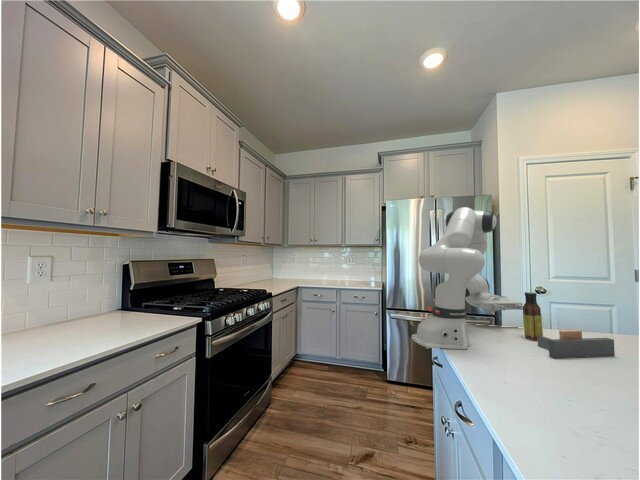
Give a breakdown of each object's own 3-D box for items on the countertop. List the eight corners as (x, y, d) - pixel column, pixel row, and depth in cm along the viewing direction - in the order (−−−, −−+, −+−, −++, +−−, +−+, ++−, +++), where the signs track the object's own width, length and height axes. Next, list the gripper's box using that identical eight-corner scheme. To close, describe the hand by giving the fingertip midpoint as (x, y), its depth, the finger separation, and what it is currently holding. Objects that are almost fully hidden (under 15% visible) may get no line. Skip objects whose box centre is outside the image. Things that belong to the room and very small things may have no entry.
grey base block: (554, 358, 91) (554, 341, 91) (524, 346, 103) (523, 330, 103) (614, 356, 93) (613, 339, 93) (578, 344, 105) (577, 329, 105)
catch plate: (563, 351, 95) (562, 331, 96) (559, 350, 97) (559, 330, 97) (582, 351, 96) (581, 331, 97) (579, 349, 97) (578, 330, 98)
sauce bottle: (541, 338, 113) (540, 292, 114) (544, 342, 107) (543, 294, 108) (522, 335, 116) (521, 290, 117) (524, 339, 111) (523, 292, 112)
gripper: (472, 296, 135) (492, 301, 121) (508, 296, 137) (532, 301, 123) (472, 308, 134) (493, 315, 121) (508, 308, 137) (532, 314, 123)
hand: (513, 308), depth 122 cm, fingers open, 8 cm apart
